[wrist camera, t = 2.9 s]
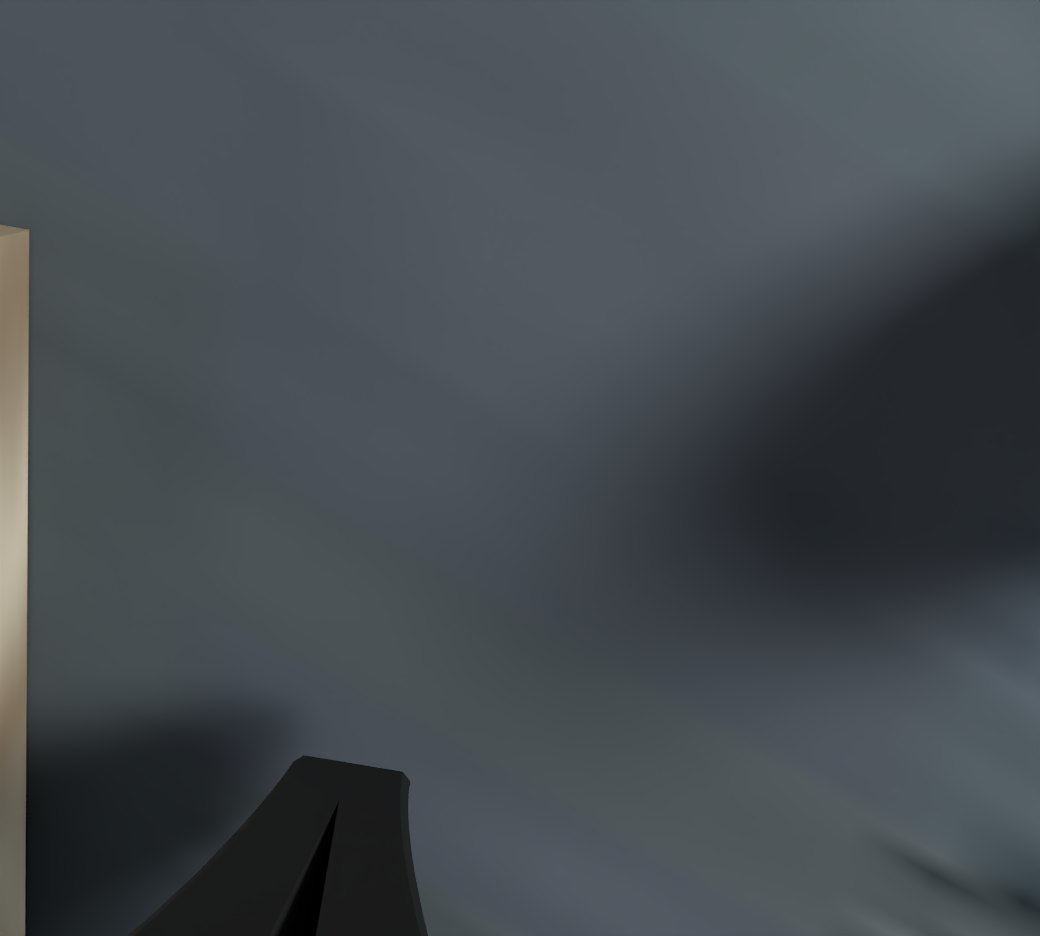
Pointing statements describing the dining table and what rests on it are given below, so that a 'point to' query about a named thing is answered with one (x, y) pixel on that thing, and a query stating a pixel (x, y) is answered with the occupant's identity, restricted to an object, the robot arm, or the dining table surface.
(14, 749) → the bench
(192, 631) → the dining table surface
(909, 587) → the dining table surface
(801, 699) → the dining table surface
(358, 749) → the dining table surface
